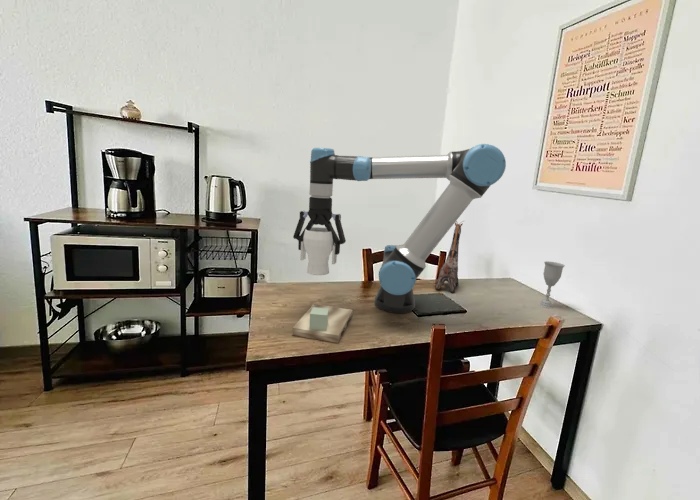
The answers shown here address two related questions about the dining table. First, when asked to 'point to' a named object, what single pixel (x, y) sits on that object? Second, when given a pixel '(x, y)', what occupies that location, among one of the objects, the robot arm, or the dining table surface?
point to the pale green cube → (319, 319)
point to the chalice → (551, 279)
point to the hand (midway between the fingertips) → (318, 261)
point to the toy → (451, 263)
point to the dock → (334, 328)
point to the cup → (318, 249)
